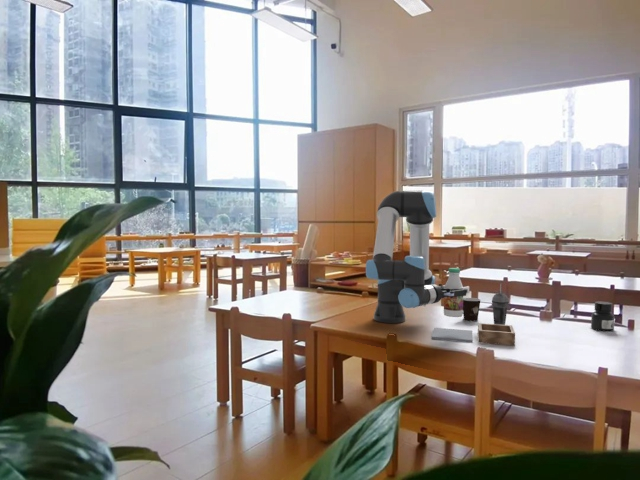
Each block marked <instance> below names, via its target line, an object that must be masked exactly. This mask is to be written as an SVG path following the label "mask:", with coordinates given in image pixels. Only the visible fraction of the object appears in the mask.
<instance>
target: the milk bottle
mask: <svg viewBox="0 0 640 480" xmlns="http://www.w3.org/2000/svg"><path fill="white" fill-rule="evenodd" d="M460 274H461V269H460V268H459V267H449V268H448V277H447V281H446V282H445V284H444V285H445V288H448V289H460V288H462V287H464V286H463V283H462V280H461V278H460ZM463 298H464V296H463V297H462V296H459V297H454V298H450V296H449V297H444V298H443V315H444V316H446V317H449V318H461V317H462V316H463Z"/></svg>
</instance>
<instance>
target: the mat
mask: <svg viewBox="0 0 640 480" xmlns="http://www.w3.org/2000/svg"><path fill="white" fill-rule="evenodd" d="M473 336H474V335H473V330H472V329H471V330H470V329H457V328H444V327H434V328H433V331H432V334H431V340H438V341H451V342H463V343H473V341H474V340H473V338H474V337H473Z"/></svg>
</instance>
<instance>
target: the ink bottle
mask: <svg viewBox="0 0 640 480" xmlns="http://www.w3.org/2000/svg"><path fill="white" fill-rule="evenodd" d="M612 312H613V303H612V302H608V301H594V311H593V312H592V313H591V316H590V317H591V318H590V319H591V322H590V323H591V325H590V328H591V329H592V328H593V330H595V329H597V330H596V331H600V330H604V331H603V332H609V331H608V330H613V331H614V330H615V315H614V314H613V313H612Z"/></svg>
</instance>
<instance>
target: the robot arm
mask: <svg viewBox="0 0 640 480" xmlns="http://www.w3.org/2000/svg"><path fill="white" fill-rule="evenodd" d="M436 204H437V203H436V198H435V193H434V192H433V190H432V191H431V190H424V189H422V190H396V191H395V190H394V191H393V192H391V193H389V194H388V195H386V196H385V198H383V199H382V200H381V202H380V203H379V206H378V208H377V210H376V211H377V212H376V218H377V228H376V233H375V234H376V235H375V242H374V246H373V247H374V248H373V255H372V259H367V260H366V263H365V276H366V279H369V280H377V305H376V308H375V310H374V313H373V320H374V321H376V322H379V323H384V324H398V323H399V324H401V323H403V322H406V313H405V310H404V308H405V309H411V308H413V309H414V308H418V307H426V306H427V305H430V304H431V305H433V304H436V303H438V302H440V301H441V300H442V299H444V297H449V296H450V298H454V297H459V296H462V297H463V298H464V297H465V296H467V294H470V286H469V285H467V286H463V287H462V288H460V289H448V288H445V284H444V285H443V283H438V285H437V284H435V283H436V276H435V275H433V272H432V271H431V270H430V267H429V266H430V225H431V224H432V223H433V221H434V219H435V218H437V205H436ZM399 218H406V219H405V220H406V223H407V224H408V225H409V255H406V256H405V257H404V260H394V259H393V256H394V247H395V246H394V244H395V239H396V238H395V236H396V225H397V222H398V221H399Z"/></svg>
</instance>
